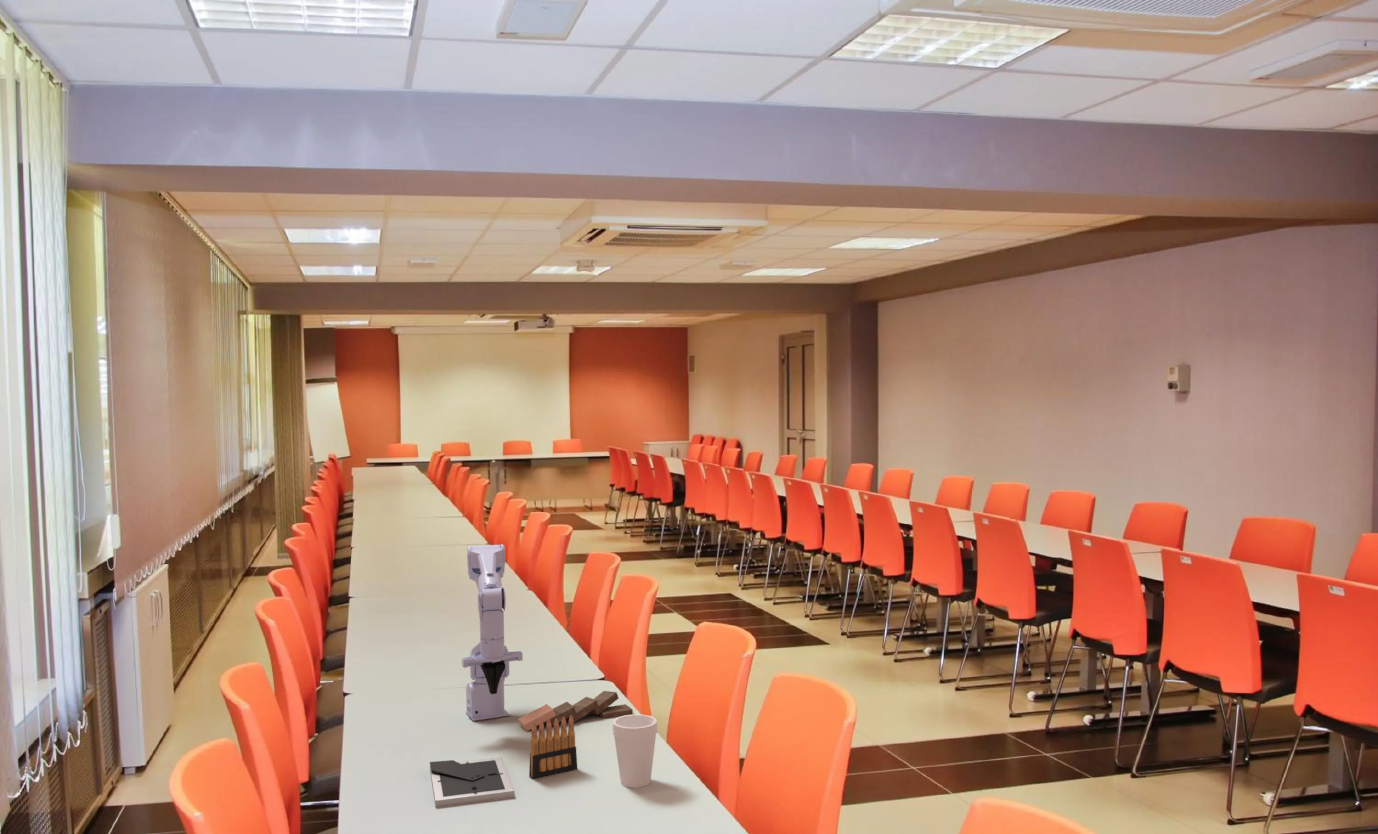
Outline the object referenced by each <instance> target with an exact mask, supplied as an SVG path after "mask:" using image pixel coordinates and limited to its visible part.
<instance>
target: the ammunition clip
mask: <svg viewBox="0 0 1378 834" xmlns="http://www.w3.org/2000/svg"><path fill="white" fill-rule="evenodd" d="M559 724H560V722H558V719H557V718H556V719H555V722H554V725H553V728H552V726H551V722H550V720H548V722H547V727H546V732H545V725H544V724H543V722H542V721H541V722H540V725H538V726H539V728H537V726H536V724H535V722H534V723H533V726H532V729H531V737H530V754H529V771H528V773H529V775H528V776H529V777H530V778H531V779H532V780H537V779H541V778H545V777H550V776H554V775H558V774H563V773H567V772H572V771H577V770H578V754H577V746H576V732H575V722H574V721H573V717H572V715H570V718H569V721H568V727H567V720H565V717H564V716H563V718H562V721H561V725H559ZM537 729H538V730H537ZM552 729H553V730H552ZM545 733H546V734H545Z"/></svg>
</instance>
